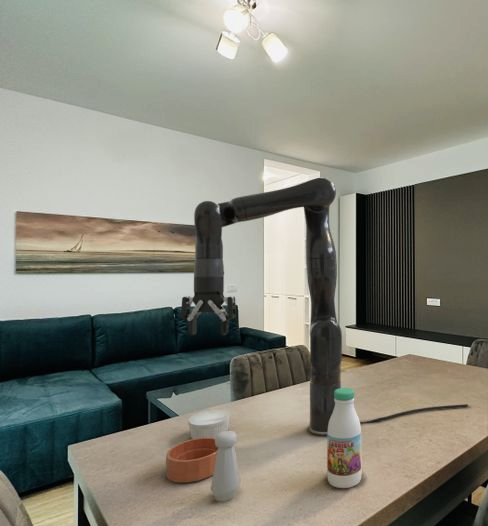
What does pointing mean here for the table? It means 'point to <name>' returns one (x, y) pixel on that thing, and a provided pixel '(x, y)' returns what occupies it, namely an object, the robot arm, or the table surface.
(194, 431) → the ramekin
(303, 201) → the robot arm
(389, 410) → the table surface
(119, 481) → the table surface
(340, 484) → the milk bottle
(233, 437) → the salt shaker
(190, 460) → the bowl
